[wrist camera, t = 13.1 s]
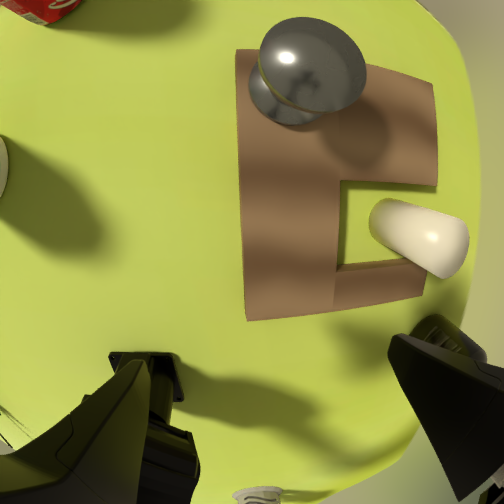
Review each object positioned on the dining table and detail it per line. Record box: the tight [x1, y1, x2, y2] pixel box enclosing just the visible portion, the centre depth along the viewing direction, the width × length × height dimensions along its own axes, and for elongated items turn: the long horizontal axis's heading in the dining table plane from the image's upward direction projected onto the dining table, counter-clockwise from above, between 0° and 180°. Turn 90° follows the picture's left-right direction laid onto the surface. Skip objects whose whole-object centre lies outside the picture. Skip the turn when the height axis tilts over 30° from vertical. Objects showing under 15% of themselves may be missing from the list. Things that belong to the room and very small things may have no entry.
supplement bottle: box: [409, 314, 487, 363], centre depth 21 cm, size 7×7×12 cm
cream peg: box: [369, 198, 469, 279], centre depth 17 cm, size 4×4×8 cm
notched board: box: [235, 49, 438, 321], centre depth 19 cm, size 20×17×2 cm
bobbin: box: [248, 17, 367, 126], centre depth 13 cm, size 6×6×6 cm
